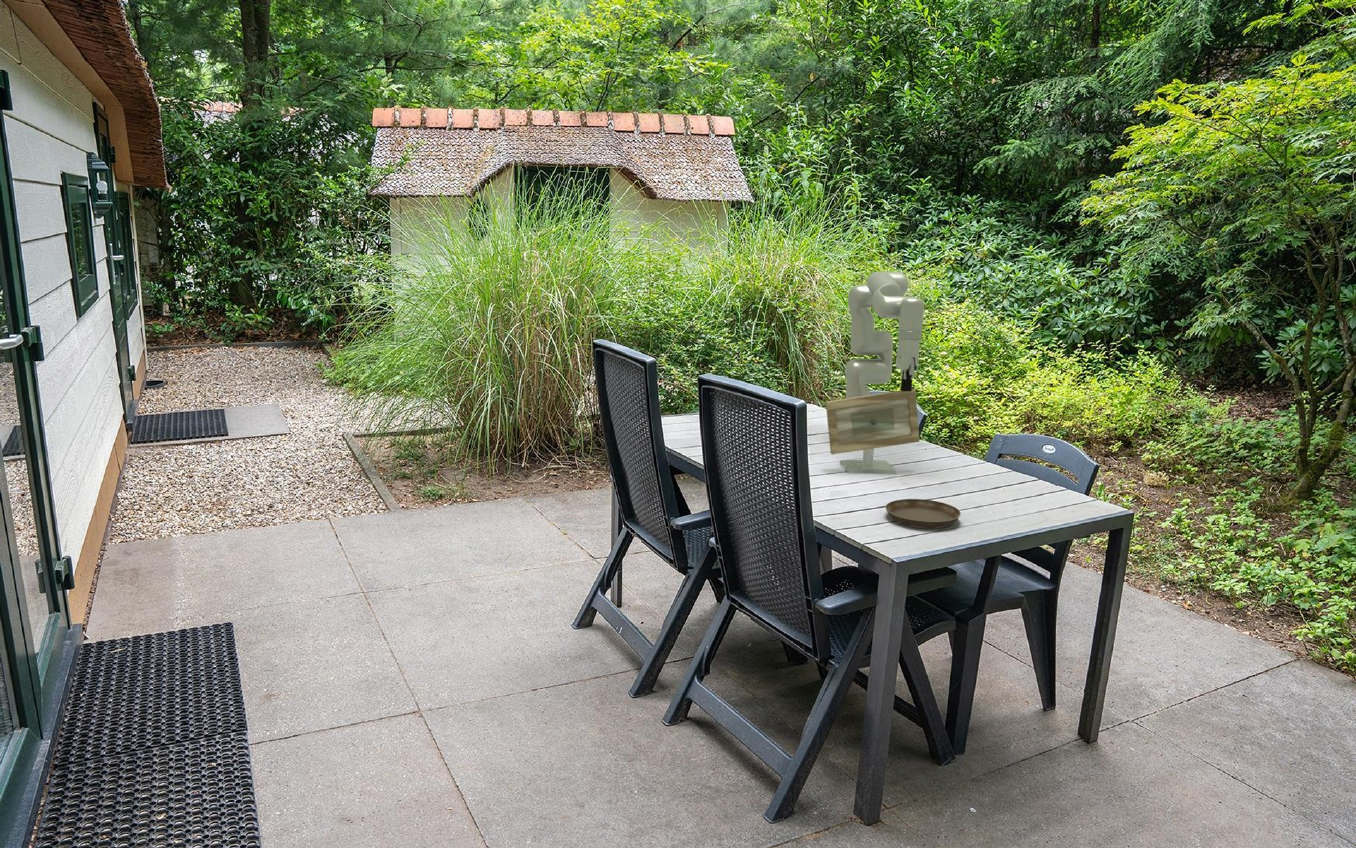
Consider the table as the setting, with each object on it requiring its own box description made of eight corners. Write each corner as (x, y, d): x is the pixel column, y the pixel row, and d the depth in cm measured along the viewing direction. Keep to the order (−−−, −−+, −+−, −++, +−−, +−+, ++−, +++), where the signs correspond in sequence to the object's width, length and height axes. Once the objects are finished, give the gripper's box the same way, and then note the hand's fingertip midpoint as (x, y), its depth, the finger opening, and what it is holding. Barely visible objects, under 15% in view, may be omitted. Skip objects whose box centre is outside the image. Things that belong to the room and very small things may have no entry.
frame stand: (840, 464, 325) (843, 413, 321) (885, 464, 326) (889, 414, 322) (848, 473, 313) (852, 420, 309) (895, 473, 314) (899, 421, 310)
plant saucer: (914, 535, 252) (915, 523, 251) (870, 513, 270) (871, 502, 270) (975, 527, 260) (976, 516, 260) (928, 506, 279) (928, 495, 278)
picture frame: (830, 453, 316) (825, 401, 312) (917, 440, 317) (913, 388, 313) (832, 454, 313) (827, 402, 309) (920, 442, 314) (916, 390, 310)
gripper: (892, 333, 315) (888, 387, 318) (905, 337, 300) (901, 394, 304) (913, 334, 316) (909, 387, 319) (928, 338, 301) (924, 394, 304)
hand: (906, 390), depth 311 cm, fingers closed
